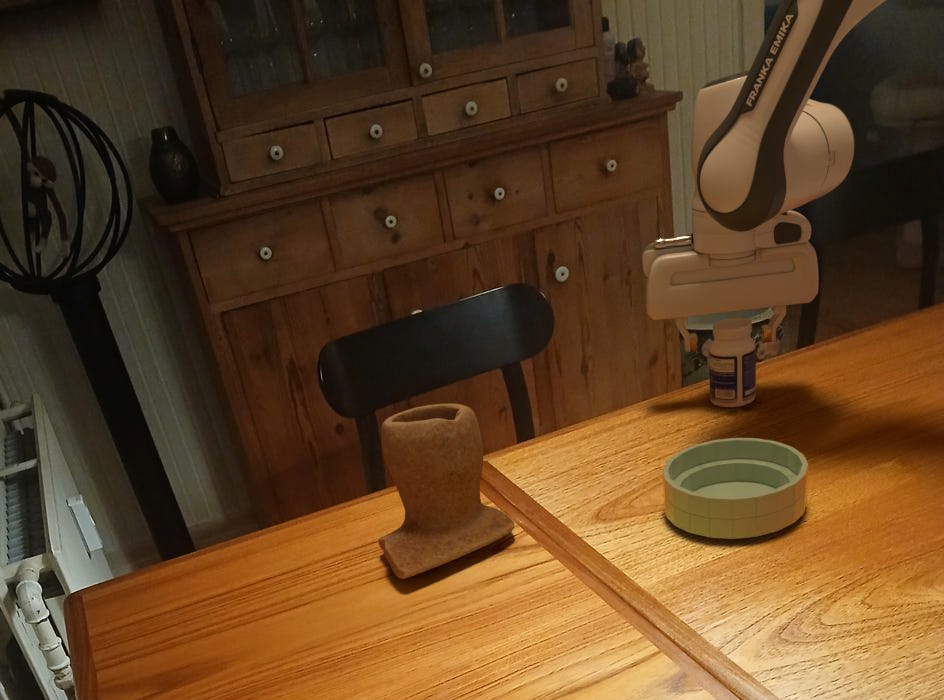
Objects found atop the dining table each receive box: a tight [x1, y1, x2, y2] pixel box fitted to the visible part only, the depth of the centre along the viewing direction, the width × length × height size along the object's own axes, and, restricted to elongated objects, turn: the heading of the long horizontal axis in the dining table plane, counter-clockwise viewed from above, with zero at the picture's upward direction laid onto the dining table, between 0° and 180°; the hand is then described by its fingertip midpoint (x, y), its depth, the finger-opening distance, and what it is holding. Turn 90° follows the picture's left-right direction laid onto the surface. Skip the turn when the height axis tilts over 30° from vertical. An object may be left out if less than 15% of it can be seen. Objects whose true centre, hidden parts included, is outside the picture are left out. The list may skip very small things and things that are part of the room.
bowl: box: [662, 437, 809, 540], centre depth 102 cm, size 14×14×5 cm
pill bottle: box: [708, 317, 757, 408], centre depth 124 cm, size 6×6×10 cm
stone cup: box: [377, 403, 515, 580], centre depth 102 cm, size 15×12×15 cm
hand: (729, 345), depth 123 cm, fingers open, 8 cm apart
